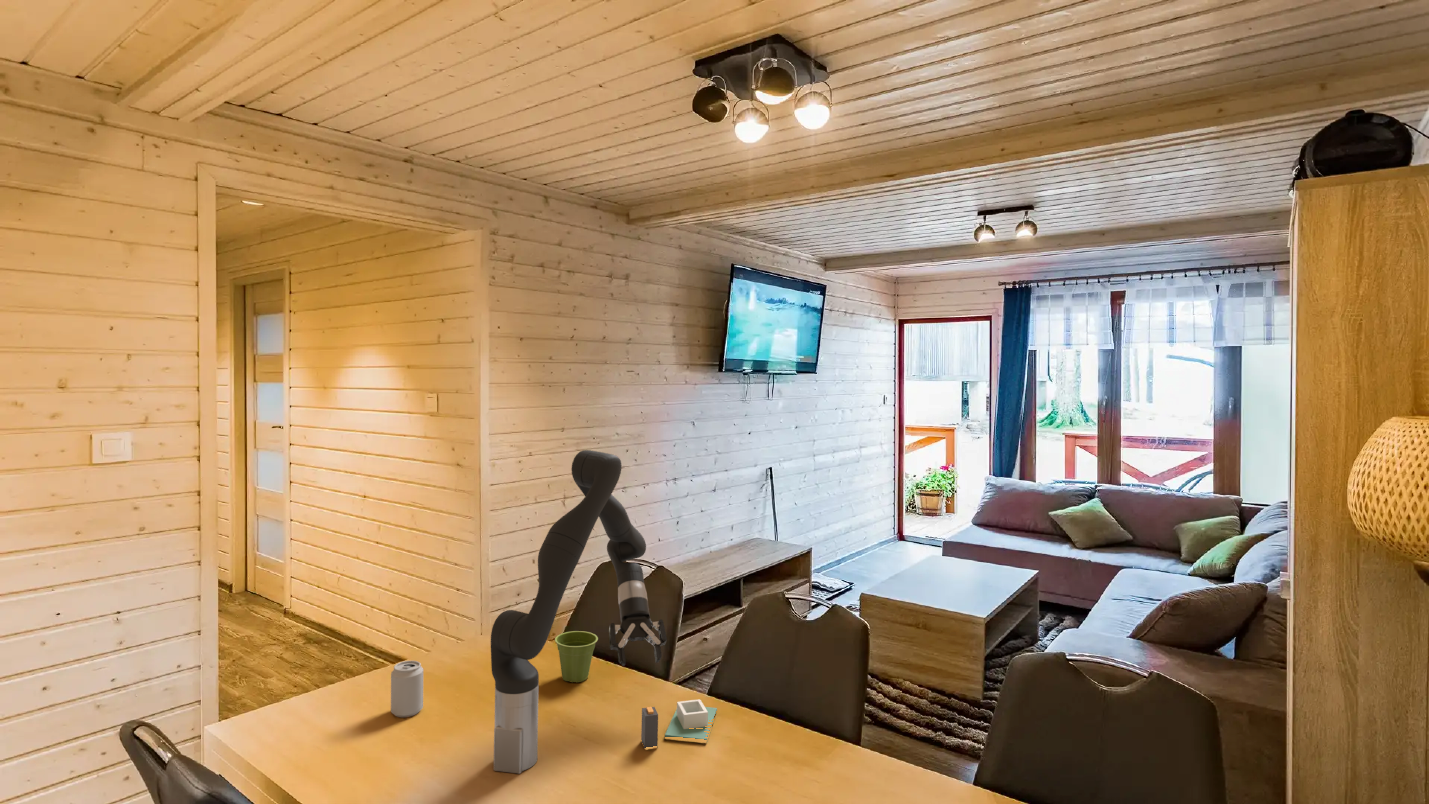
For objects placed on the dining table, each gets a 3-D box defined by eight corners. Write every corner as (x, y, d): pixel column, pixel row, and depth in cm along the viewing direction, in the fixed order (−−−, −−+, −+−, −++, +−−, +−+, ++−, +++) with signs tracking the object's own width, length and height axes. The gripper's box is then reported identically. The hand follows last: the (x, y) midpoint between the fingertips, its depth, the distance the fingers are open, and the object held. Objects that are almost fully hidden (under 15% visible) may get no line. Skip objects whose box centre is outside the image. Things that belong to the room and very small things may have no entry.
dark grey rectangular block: (657, 748, 168) (658, 712, 168) (644, 750, 167) (645, 714, 167) (653, 739, 172) (654, 704, 172) (641, 741, 171) (642, 706, 171)
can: (428, 706, 186) (429, 659, 185) (413, 720, 178) (414, 672, 178) (400, 703, 186) (401, 657, 186) (384, 717, 179) (384, 669, 178)
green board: (706, 744, 171) (706, 739, 170) (664, 739, 172) (664, 734, 172) (716, 712, 186) (717, 708, 186) (678, 708, 188) (678, 704, 188)
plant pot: (574, 691, 196) (574, 650, 196) (545, 678, 204) (545, 639, 203) (605, 676, 206) (606, 637, 205) (577, 665, 213) (577, 627, 212)
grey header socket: (707, 726, 177) (708, 712, 176) (683, 729, 175) (684, 715, 175) (699, 712, 183) (700, 699, 183) (676, 715, 182) (677, 701, 181)
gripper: (607, 597, 186) (614, 659, 175) (662, 593, 190) (671, 653, 179) (604, 611, 191) (610, 671, 181) (657, 607, 195) (666, 666, 185)
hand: (641, 662), depth 180 cm, fingers open, 8 cm apart
